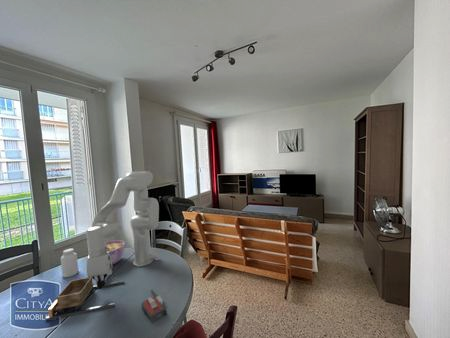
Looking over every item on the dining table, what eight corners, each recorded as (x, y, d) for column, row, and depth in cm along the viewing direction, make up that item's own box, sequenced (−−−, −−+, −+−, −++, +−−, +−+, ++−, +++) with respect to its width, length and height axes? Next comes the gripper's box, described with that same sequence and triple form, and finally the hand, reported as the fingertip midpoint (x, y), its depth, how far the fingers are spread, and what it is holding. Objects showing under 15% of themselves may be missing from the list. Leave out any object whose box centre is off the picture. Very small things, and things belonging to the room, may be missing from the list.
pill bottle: (81, 270, 127) (79, 247, 126) (70, 277, 119) (68, 253, 118) (70, 270, 128) (67, 247, 127) (58, 277, 120) (56, 253, 119)
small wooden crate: (94, 289, 106) (93, 275, 106) (81, 310, 92) (80, 294, 91) (73, 293, 104) (71, 279, 104) (56, 315, 90) (54, 299, 89)
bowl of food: (116, 270, 124) (115, 252, 123) (84, 272, 124) (82, 254, 123) (131, 255, 144) (130, 239, 143) (103, 256, 144) (102, 240, 143)
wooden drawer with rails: (124, 282, 112) (123, 273, 111) (114, 306, 93) (113, 296, 93) (68, 292, 105) (67, 283, 105) (45, 321, 87) (44, 310, 87)
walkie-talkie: (171, 313, 88) (153, 291, 103) (170, 304, 87) (153, 283, 102) (151, 325, 82) (135, 300, 97) (150, 315, 82) (135, 291, 97)
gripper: (116, 246, 104) (119, 280, 106) (84, 250, 101) (88, 285, 102) (111, 252, 97) (115, 289, 98) (76, 258, 94) (80, 295, 95)
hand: (101, 287), depth 100 cm, fingers closed
